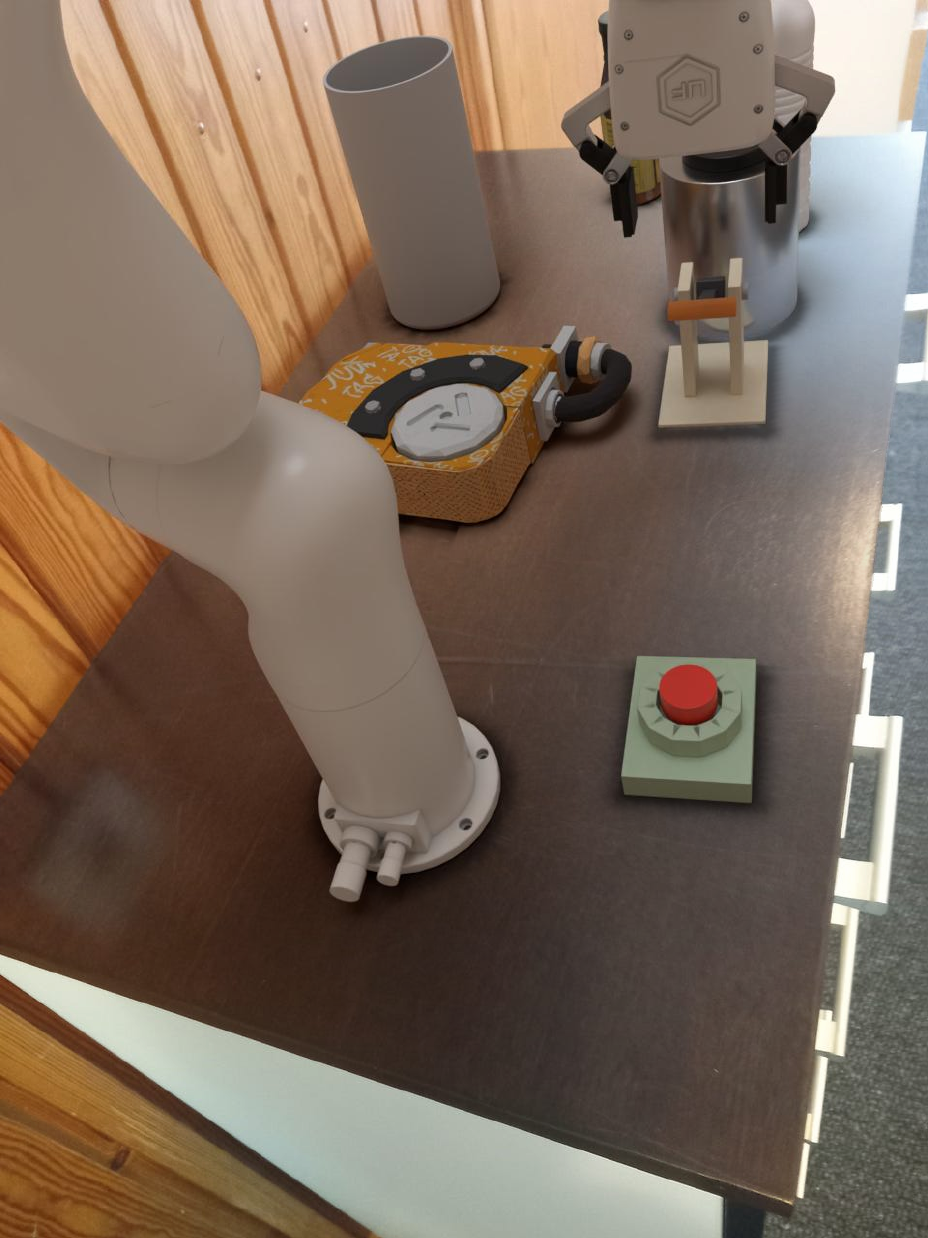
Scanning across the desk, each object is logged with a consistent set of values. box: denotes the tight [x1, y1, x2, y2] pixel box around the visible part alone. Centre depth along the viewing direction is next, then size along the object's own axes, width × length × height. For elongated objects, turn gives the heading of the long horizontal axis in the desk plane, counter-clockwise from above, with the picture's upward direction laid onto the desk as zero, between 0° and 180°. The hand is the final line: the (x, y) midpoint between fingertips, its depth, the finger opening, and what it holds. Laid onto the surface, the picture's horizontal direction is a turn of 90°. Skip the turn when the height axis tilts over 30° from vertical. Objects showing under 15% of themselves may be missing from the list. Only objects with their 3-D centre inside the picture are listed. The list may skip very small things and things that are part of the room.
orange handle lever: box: [666, 276, 737, 322], centre depth 82 cm, size 12×5×2 cm, turn 168°
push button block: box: [620, 655, 757, 804], centre depth 68 cm, size 10×8×4 cm
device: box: [297, 325, 633, 524], centre depth 93 cm, size 23×8×30 cm
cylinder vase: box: [322, 35, 501, 331], centre depth 105 cm, size 12×12×25 cm
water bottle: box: [771, 0, 816, 233], centre depth 101 cm, size 9×6×25 cm
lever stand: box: [657, 258, 769, 429], centre depth 89 cm, size 12×9×12 cm
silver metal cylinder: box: [659, 124, 801, 340], centre depth 96 cm, size 14×12×17 cm
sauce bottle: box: [597, 10, 661, 206], centre depth 114 cm, size 7×6×20 cm
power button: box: [659, 664, 718, 725], centre depth 66 cm, size 4×4×2 cm
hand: (699, 220), depth 73 cm, fingers open, 9 cm apart
